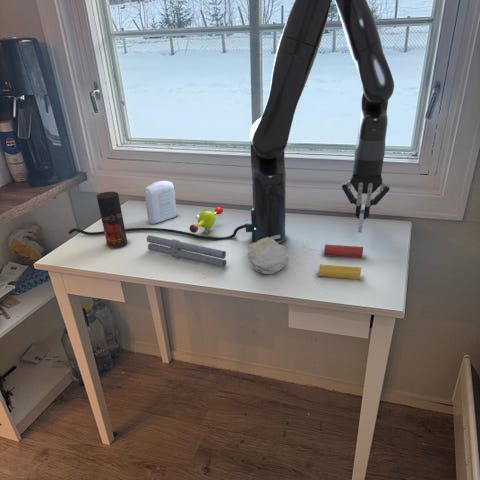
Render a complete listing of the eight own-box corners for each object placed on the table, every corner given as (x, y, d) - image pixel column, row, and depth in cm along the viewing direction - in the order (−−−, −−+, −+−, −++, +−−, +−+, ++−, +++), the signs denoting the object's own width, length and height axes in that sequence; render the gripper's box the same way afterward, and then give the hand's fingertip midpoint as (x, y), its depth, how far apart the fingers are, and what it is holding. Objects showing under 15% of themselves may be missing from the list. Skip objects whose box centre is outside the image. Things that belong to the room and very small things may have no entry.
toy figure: (213, 220, 152) (211, 200, 148) (228, 222, 150) (227, 202, 146) (184, 242, 139) (181, 220, 135) (200, 244, 137) (198, 222, 133)
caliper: (361, 234, 125) (364, 211, 122) (357, 233, 126) (360, 211, 122) (365, 207, 142) (367, 186, 138) (361, 207, 142) (363, 186, 138)
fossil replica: (294, 262, 125) (258, 261, 128) (293, 232, 121) (256, 232, 124) (283, 280, 115) (245, 279, 118) (281, 248, 111) (241, 247, 114)
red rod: (323, 257, 126) (324, 247, 125) (325, 252, 129) (325, 242, 127) (361, 260, 124) (363, 249, 122) (362, 255, 126) (363, 245, 125)
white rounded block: (171, 213, 159) (167, 176, 152) (179, 216, 157) (175, 179, 150) (146, 222, 153) (140, 184, 147) (154, 225, 151) (148, 187, 144)
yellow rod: (318, 278, 117) (319, 267, 115) (319, 272, 119) (320, 262, 118) (359, 281, 114) (360, 270, 113) (360, 276, 117) (361, 265, 115)
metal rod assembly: (227, 265, 125) (226, 248, 122) (222, 270, 123) (220, 252, 120) (152, 248, 136) (149, 232, 133) (146, 252, 134) (143, 235, 131)
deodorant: (103, 245, 140) (92, 195, 131) (120, 238, 143) (110, 190, 135) (114, 250, 136) (104, 200, 128) (131, 243, 140) (122, 194, 131)
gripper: (395, 153, 125) (386, 215, 135) (344, 150, 128) (338, 211, 138) (396, 160, 119) (386, 224, 129) (342, 158, 122) (336, 221, 132)
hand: (361, 217), depth 133 cm, fingers closed on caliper, 1 cm apart
